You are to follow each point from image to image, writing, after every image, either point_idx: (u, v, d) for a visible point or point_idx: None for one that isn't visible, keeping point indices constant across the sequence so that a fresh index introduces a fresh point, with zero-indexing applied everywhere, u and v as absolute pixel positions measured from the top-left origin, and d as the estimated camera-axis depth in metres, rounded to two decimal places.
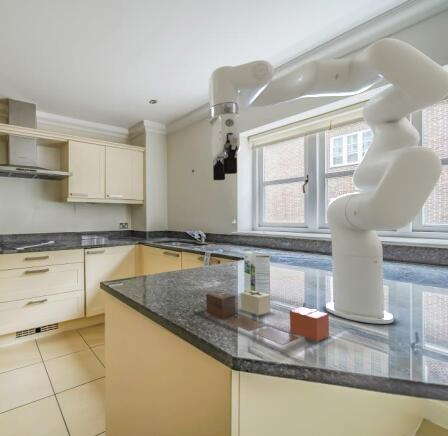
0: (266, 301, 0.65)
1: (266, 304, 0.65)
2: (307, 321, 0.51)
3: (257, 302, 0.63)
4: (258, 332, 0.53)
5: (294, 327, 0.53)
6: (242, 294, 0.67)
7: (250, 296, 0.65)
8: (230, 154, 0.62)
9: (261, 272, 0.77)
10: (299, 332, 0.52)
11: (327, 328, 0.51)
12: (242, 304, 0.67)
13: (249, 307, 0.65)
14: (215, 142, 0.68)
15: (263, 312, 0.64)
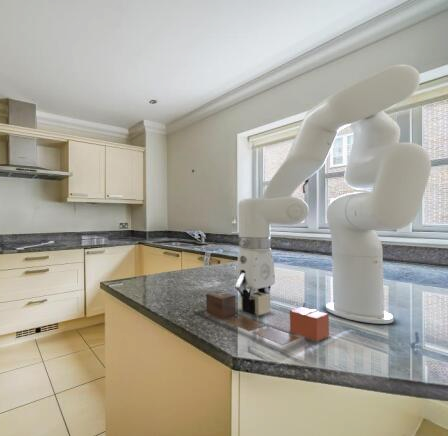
0: (266, 301, 0.65)
1: (266, 304, 0.65)
2: (307, 321, 0.51)
3: (257, 302, 0.63)
4: (258, 332, 0.53)
5: (294, 327, 0.53)
6: None
7: None
8: (243, 296, 0.65)
9: None
10: (299, 332, 0.52)
11: (327, 328, 0.51)
12: None
13: None
14: None
15: (263, 312, 0.64)
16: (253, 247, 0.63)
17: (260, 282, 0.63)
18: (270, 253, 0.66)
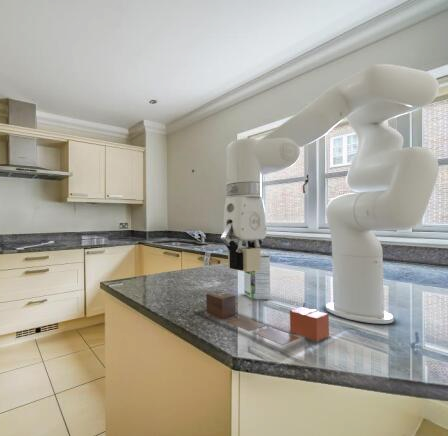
0: (255, 255, 0.57)
1: (256, 258, 0.57)
2: (307, 321, 0.51)
3: (245, 255, 0.56)
4: (258, 332, 0.53)
5: (294, 327, 0.53)
6: None
7: None
8: (230, 249, 0.57)
9: (261, 272, 0.77)
10: (299, 332, 0.52)
11: (327, 328, 0.51)
12: (229, 260, 0.60)
13: None
14: None
15: (252, 267, 0.56)
16: (241, 193, 0.56)
17: (249, 232, 0.56)
18: (261, 202, 0.58)
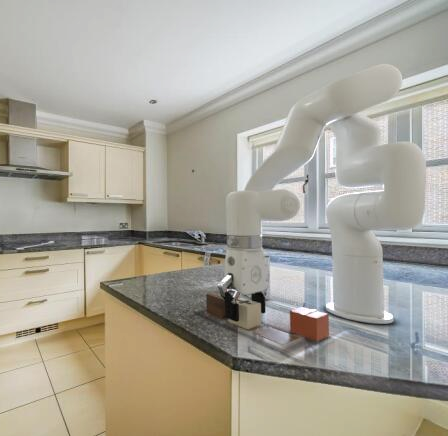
0: (256, 311, 0.56)
1: (256, 314, 0.56)
2: (307, 321, 0.51)
3: (246, 312, 0.55)
4: (258, 332, 0.53)
5: (294, 327, 0.53)
6: None
7: None
8: (225, 300, 0.56)
9: None
10: (299, 332, 0.52)
11: (327, 328, 0.51)
12: None
13: None
14: None
15: (253, 323, 0.56)
16: (242, 247, 0.55)
17: (250, 287, 0.55)
18: (262, 253, 0.58)
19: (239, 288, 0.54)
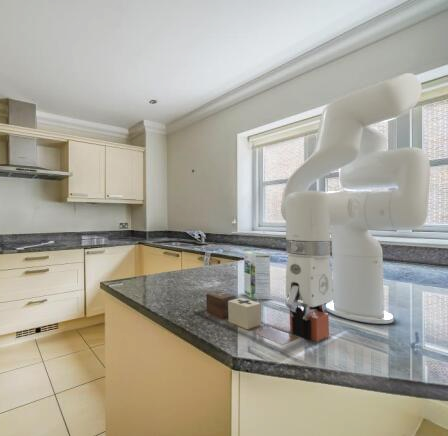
0: (256, 311, 0.56)
1: (256, 314, 0.56)
2: None
3: (246, 312, 0.55)
4: (258, 332, 0.53)
5: None
6: (229, 302, 0.59)
7: (238, 305, 0.57)
8: (295, 315, 0.51)
9: (261, 272, 0.77)
10: None
11: (327, 328, 0.51)
12: (229, 314, 0.59)
13: (237, 317, 0.57)
14: None
15: (253, 323, 0.56)
16: (309, 253, 0.50)
17: (318, 298, 0.49)
18: (328, 261, 0.52)
19: (307, 299, 0.48)
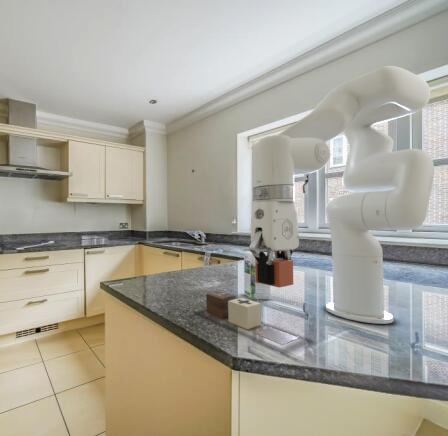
0: (256, 311, 0.56)
1: (256, 314, 0.56)
2: None
3: (246, 312, 0.55)
4: (258, 332, 0.53)
5: None
6: (229, 302, 0.59)
7: (238, 305, 0.57)
8: (259, 261, 0.50)
9: None
10: None
11: (291, 274, 0.51)
12: (229, 314, 0.59)
13: (237, 317, 0.57)
14: None
15: (253, 323, 0.56)
16: (273, 197, 0.49)
17: (281, 242, 0.49)
18: (293, 207, 0.52)
19: (269, 242, 0.48)
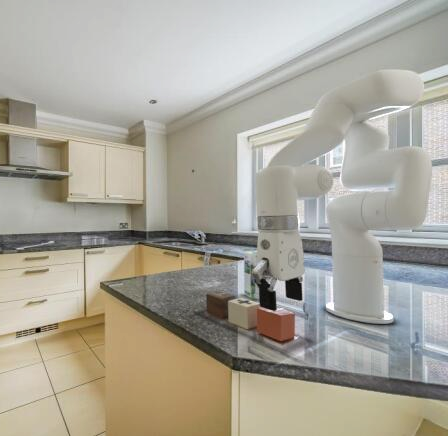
0: (256, 311, 0.56)
1: (256, 314, 0.56)
2: (272, 319, 0.50)
3: (246, 312, 0.55)
4: (258, 332, 0.53)
5: (261, 325, 0.52)
6: (229, 302, 0.59)
7: (238, 305, 0.57)
8: (260, 287, 0.50)
9: None
10: (264, 330, 0.51)
11: (293, 327, 0.51)
12: (229, 314, 0.59)
13: (237, 317, 0.57)
14: None
15: (253, 323, 0.56)
16: (278, 228, 0.50)
17: (288, 272, 0.50)
18: (298, 235, 0.52)
19: (276, 274, 0.49)
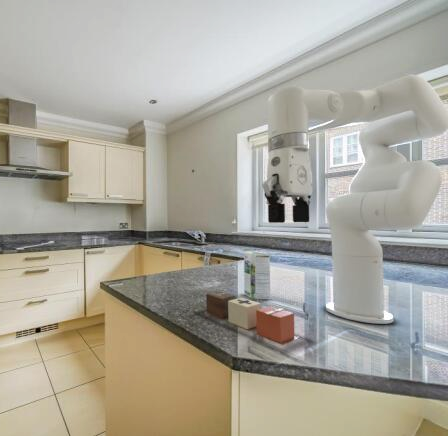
0: None
1: None
2: (271, 320, 0.50)
3: (246, 312, 0.55)
4: None
5: (260, 327, 0.52)
6: (229, 302, 0.59)
7: (238, 305, 0.57)
8: (270, 201, 0.53)
9: (261, 272, 0.77)
10: (264, 332, 0.51)
11: (292, 327, 0.51)
12: (229, 314, 0.59)
13: (237, 317, 0.57)
14: None
15: (253, 323, 0.56)
16: (288, 144, 0.52)
17: (297, 186, 0.52)
18: (307, 156, 0.55)
19: (286, 186, 0.51)
